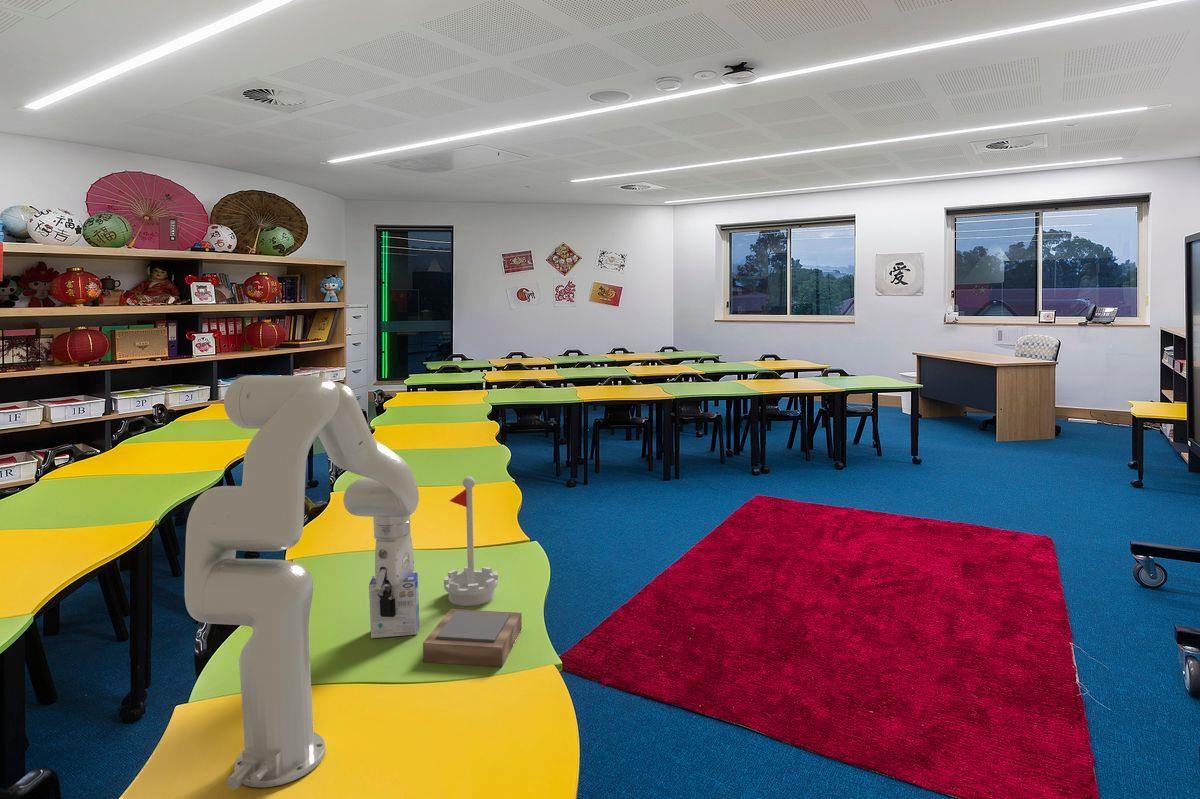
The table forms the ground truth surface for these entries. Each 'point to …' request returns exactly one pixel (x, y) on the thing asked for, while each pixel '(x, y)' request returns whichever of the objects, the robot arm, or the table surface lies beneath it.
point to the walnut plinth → (473, 638)
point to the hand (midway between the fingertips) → (395, 608)
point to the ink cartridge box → (404, 606)
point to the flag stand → (470, 563)
